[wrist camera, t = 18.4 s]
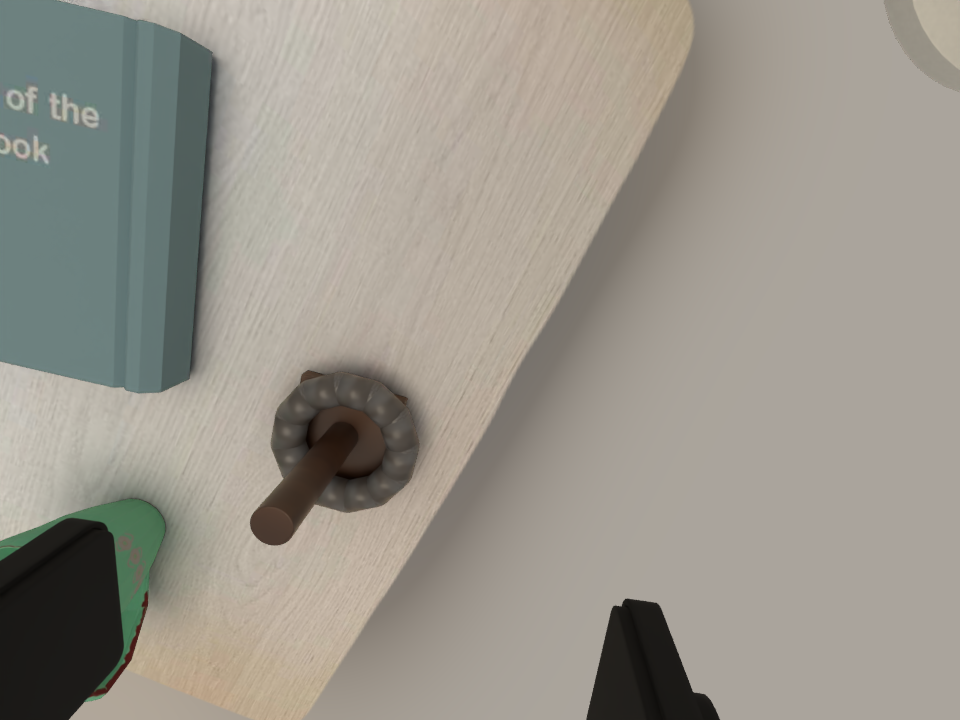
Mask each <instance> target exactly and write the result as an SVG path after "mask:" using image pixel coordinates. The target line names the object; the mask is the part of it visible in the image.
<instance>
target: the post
mask: <svg viewBox="0 0 960 720" xmlns="http://www.w3.org/2000/svg"><path fill="white" fill-rule="evenodd" d="M320 376H324V375H323V374H320V373H316V372H312V371H309V370H307V371H306V372H305V373H303V374H302V376H301V382H300V384H301V383H302V382H303V381H305V380H308V379H312V378H316V377H320ZM394 395H395V394H394ZM395 396H396V397H397V398H398V399H399V400H400V401H401V402H402V403H403V404H404V405H405V406H406V404H407V400H408V398H406V397H403V396H399V395H395ZM306 443H307V445H308V448H309V451H308V452H307V453H306V455H305V456H304V457H303V458H302V459H301V460H300V461H299V462H298V464H297V465H296V466H295V467H294V468H293V469H292V470H291V471H290V473H289V474H288V475H287V476H286V477H285V478H284V479H283V480H282V481H281V483H280V484H279V485H278V486H277V487H276V488H275V489H274V490H273V492H272V493H271V494H270V495H269V496H268V497H267V498H266V499H265V501H264V502H263V503H262V504H261V505H260V506H259V507H258V508H257V510H256V511H255V512H254V513H253V515H252V517H251V520H250V526H251V530H252V532H253V534H254V535H255V536H256V538H257V539H259V540H260V541H261V542H263V543H265V544H268V545H281V544H284V543H286V542H287V541H289V540H290V539H291V537H292V536H293V535H294V533H295V532H296V530H297V529H298V527H299V526H300V524H301V523H302V522H303V520H304V519H305V517H306V516H307V514H308V513H309V512H310V510H311V509H312V507H313V506H314V504H315V503H316V502H317V500H318V499H319V497H320V496H321V494H322V493H323V492H324V490H325V489H326V487H327V486H328V484H329V483H330V482H331V480H332V479H333V477H334V476H338V477H342V478H346V479H349V480H351V479H356V478H361V477H365V476H369V475H370V474H372V473H373V472H374V471H375V470H376V469H377V468H378V467H379V466H380V465H381V464H382V461H383V457H384V453H385V449H386V445H385V442H384V439H383V436H382V433H381V430H380V427H379V426H378V425H377V424H375V423H374V422H373V421H372V420H371V419H370V418H369V417H368V416H367V415H366V414H365V413H364V412H362V411H358V410H355V409H351V408H348V407H344V406H337V407H333V408H329V409H324V410H321V411H320V412H319V413H318V414H317V415H316V416H315V417H314V418H313V419H312V420H311V421H310V422H309V425H308V430H307V436H306Z"/></svg>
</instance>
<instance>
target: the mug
mask: <svg viewBox="0 0 960 720" xmlns="http://www.w3.org/2000/svg"><path fill="white" fill-rule="evenodd" d="M66 518H79V519H86V520H93V521H99V522H103V523H105V525H106V526H107V528H108V531H109V532H111V533H112V534H113V537H114V543H115V554H116V565H117V575H118V586H119V596H120V607H121V618H122V628H123V639H124V650H123V654H122V656H121V659H120V661H119V662H118V664H117V666H116V667H115V668H114V669H113V671H112V672H111V673H110V674H109V675H108V676H107V677H106V678H105V680H104V681H103V682H102V683H101V684H100V685H99V686H98V687H97V688H96V690H95V691H94V692H93V693H92V694H91V695H90V696H89V697H88V699H87V700H86V701H85V702H88V701H93V700H97V699H100V698H102V697H103V696H104V695H105V694H106V693H107V692H108V691H109V690H110V688H111V687H112V686H113V684H114V683H115V682H116V680H117V679H118V678H119V676H120V675H121V673H122V672H123V671H124V669H125V668H126V667H127V665H128V664H129V662H130V661H131V659H132V656H133V653H134V650H135V646H136V643H137V640H138V636H139V633H140V630H141V627H142V623H143V620H144V617H145V613H146V610H147V607H148V591H149V569H150V567H151V566H152V564H153V562H154V560H155V557H156V555H157V552H158V550H159V547H160V545H161V543H162V540H163V538H164V534H165V531H166V530H165V522H164V520H163V518H162V515H161V514H160V513H159V512H158V510H157V509H156V508H155V507H153V506H152V505H151V504H149V503H147V502H145V501H142V500H139V499H127V500H122V501H117V502H113V503H108V504H104V505H99V506H95V507H91V508H88V509H85V510H81V511H78V512H75V513H72V514H68V515H65V516H63V517H60V518H58V519H56V520H53V521H51V522H49V523H46V524H44V525H42V526H40V527H37V528H34V529H32V530H29V531H26V532H23V533H20V534H18V535H15V536H12V537H10V538H7V539H4V540H2V541H0V561H1V560H2V559H4V558H5V557H7V556H8V555H10V554H11V553H13V552H14V551H16V550H17V549H19V548H21V547H22V546H24V545H25V544H27V543H28V542H30V541H31V540H33V539H34V538H36V537H37V536H39V535H40V534H42V533H43V532H45V531H46V530H48V529H49V528H51V527H53V526H54V525H56V524H57V523H59V522H60V521H62V520H64V519H66Z"/></svg>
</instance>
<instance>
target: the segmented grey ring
mask: <svg viewBox="0 0 960 720" xmlns="http://www.w3.org/2000/svg"><path fill="white" fill-rule="evenodd" d="M337 406H344V407H348V408H351V409H355V410H358V411H362V412H364V413H365V414H366V415H367V416H368V417H369V418H370V419H371V420H372V421H373V422H374V423H375V424H377V425H378V426H379V427H380V430H381V433H382V436H383V439H384V442H385V445H386V449H385V453H384V457H383V461H382V464H381V465H380V466H379V467H378V468H377V469H376V470H375V471H374V472H373V473H372V474H370V475H369V476H365V477H361V478H356V479H351V480H349V479H346V478H342V477H338V476H334V477H333V479H332V480H331V482H330V483H329V484H328V486H327V487H326V489H325V490H324V492H323V493H322V494H321V496H320V497H319V499H318V500H317V502H316V503H315V505H319V506H323V507H327V508H330V509H334V510H338V511H341V512H346V513H350V512H355V511H360V510H364V509H369V508H374V507H379V506H382V505H384V504H385V503H387V502H388V501H389V500H390V499H391V498H392V497H393V496H394V495H396V494H397V493H398V492H399V491H400V490H401V489H402V488H403V487H404V486H405V485H407V484H408V483H409V481H410V479H411V477H412V474H413V470H414V466H415V462H416V459H417V455H418V451H419V440H418V436H417V433H416V430H415V427H414V424H413V421H412V417H411V414H410V411H409V409H408V408H407V407H406V406H405V405H404V404H403V403H402V402H401V401H400V400H399V399H398V398H397V397H396V396H395V395H394V394H393V393H392V392H391V391H390V390H388V389H387V388H386V387H385V386H384V385H383V384H382V383H380V382H378V381H376V380H372V379H368V378H365V377H361V376H357V375H354V374H350V373H347V372H336V373H332V374H328V375H324V376H320V377H316V378H312V379H308V380H305V381H303V382H302V383H301V384H300V385H299V386H298V387H297V388H296V389H295V390H294V391H293V392H292V393H291V394H290V395H289V396H288V397H287V398H286V399H285V400H284V401H283V402H282V403H281V404H280V406H279V407H278V408H277V411H276V415H275V420H274V426H273V432H272V438H271V448H272V451H273V453H274V456H275V458H276V461H277V464H278V466H279V469H280V471H281V474H282V476H283V478H285V477H286V476H287V475H288V474H289V473H290V471H291V470H292V469H293V468H294V467H295V466H296V465H297V464H298V462H299V461H300V460H301V459H302V458H303V457H304V456H305V455H306V453H307V452H308V451H309V448H308V445H307V443H306V436H307V430H308V425H309V422H310V421H311V420H312V419H313V418H314V417H315V416H316V415H317V414H318V413H319V412H320V411H321V410H324V409H329V408H333V407H337Z"/></svg>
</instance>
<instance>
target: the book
mask: <svg viewBox="0 0 960 720" xmlns="http://www.w3.org/2000/svg"><path fill="white" fill-rule="evenodd" d="M212 53H213V52H212V51H210V50H208V49H207V48H205V47H203V46H202V45H200V44H198V43H197V42H195V41H193V40H192V39H190V38H188V37H187V36H185V35H183V34H182V33H179V32H177V31H174V30H171V29H168V28H166V27H163V26H160V25H158V24H155V23H151V22H147V21H143V20H137V21H136V20H133V19H130V18H128V17H125V16H121V15H117V14H113V13H108V12H104V11H100V10H95V9H91V8H87V7H83V6H78V5H74V4H70V3H65V2H61V1H57V0H0V362H4V363H9V364H13V365H17V366H22V367H26V368H30V369H35V370H39V371H44V372H48V373H52V374H57V375H61V376H65V377H70V378H74V379H78V380H83V381H87V382H91V383H96V384H100V385H104V386H109V387H124V388H125V390H126V391H131V392H135V393H157V392H163V391H165V390H167V389H169V388H171V387H173V386H175V385H177V384H180V383H182V382H184V381H186V380H188V379H189V376H190V362H191V348H192V334H193V320H194V306H195V292H196V278H197V264H198V250H199V236H200V222H201V208H202V194H203V180H204V166H205V152H206V138H207V124H208V109H209V95H210V81H211V67H212Z"/></svg>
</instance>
